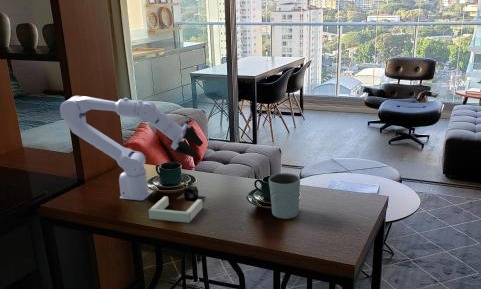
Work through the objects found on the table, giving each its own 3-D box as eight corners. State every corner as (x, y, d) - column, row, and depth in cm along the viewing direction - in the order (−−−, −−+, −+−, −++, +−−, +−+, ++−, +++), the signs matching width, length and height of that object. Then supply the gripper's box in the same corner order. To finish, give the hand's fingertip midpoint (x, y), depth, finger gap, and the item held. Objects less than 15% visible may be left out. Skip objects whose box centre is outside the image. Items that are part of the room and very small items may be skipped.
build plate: (171, 200, 167) (170, 188, 165) (182, 193, 173) (181, 181, 172) (201, 205, 161) (200, 193, 160) (211, 197, 168) (211, 185, 166)
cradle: (149, 218, 152) (148, 210, 151) (164, 204, 162) (164, 196, 161) (189, 222, 148) (188, 214, 147) (202, 207, 158) (201, 199, 157)
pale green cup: (281, 222, 145) (281, 186, 142) (263, 211, 153) (262, 177, 150) (307, 213, 150) (306, 179, 147) (287, 203, 158) (287, 170, 155)
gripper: (167, 129, 155) (200, 154, 158) (180, 110, 167) (210, 133, 170) (156, 142, 159) (188, 166, 161) (170, 122, 171) (199, 145, 174)
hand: (198, 150), depth 166 cm, fingers open, 7 cm apart
